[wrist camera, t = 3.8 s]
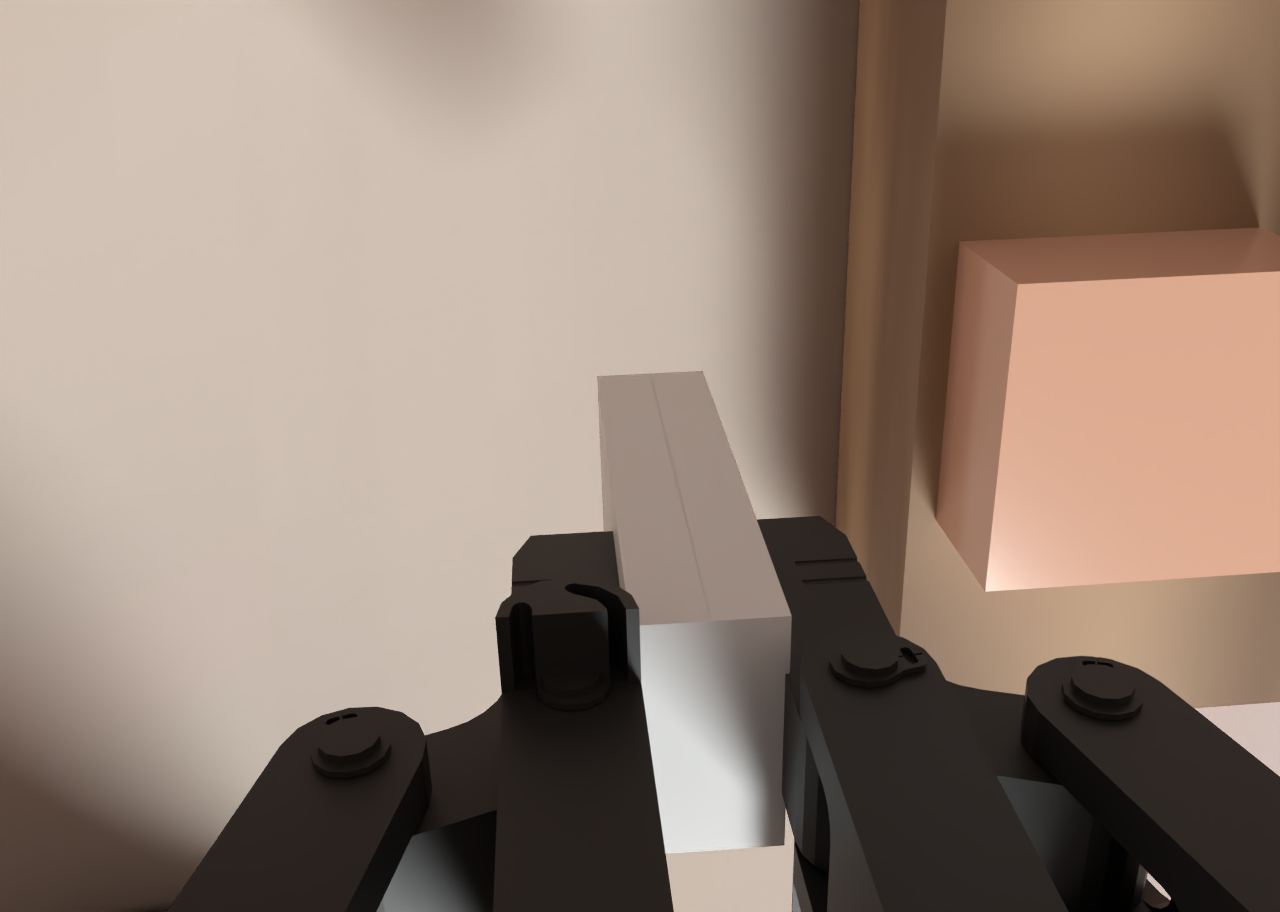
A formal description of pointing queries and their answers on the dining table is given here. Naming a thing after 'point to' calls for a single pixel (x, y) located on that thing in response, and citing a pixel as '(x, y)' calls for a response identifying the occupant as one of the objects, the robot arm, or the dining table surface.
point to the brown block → (1038, 208)
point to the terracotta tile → (1114, 408)
